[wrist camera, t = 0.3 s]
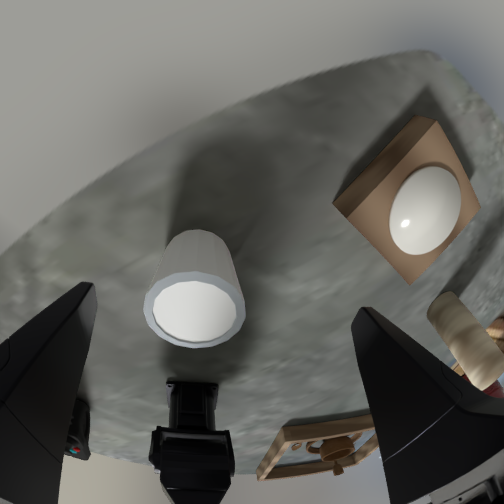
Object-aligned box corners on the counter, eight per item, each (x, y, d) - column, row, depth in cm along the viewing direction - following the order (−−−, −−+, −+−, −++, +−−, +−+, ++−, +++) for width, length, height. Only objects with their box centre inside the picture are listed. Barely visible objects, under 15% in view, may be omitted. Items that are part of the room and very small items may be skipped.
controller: (88, 390, 34) (75, 451, 25) (97, 425, 39) (90, 474, 31) (62, 383, 32) (45, 441, 24) (75, 419, 38) (65, 467, 30)
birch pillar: (444, 319, 35) (491, 386, 23) (420, 321, 34) (469, 396, 23) (460, 291, 32) (515, 357, 21) (437, 291, 31) (495, 365, 20)
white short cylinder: (201, 205, 23) (197, 251, 17) (253, 262, 26) (266, 318, 20) (141, 255, 24) (122, 309, 18) (194, 303, 27) (193, 361, 21)
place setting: (381, 417, 50) (390, 440, 45) (337, 455, 59) (343, 474, 54) (307, 426, 46) (314, 453, 41) (272, 462, 55) (276, 483, 50)
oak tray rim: (353, 455, 61) (356, 464, 58) (255, 470, 56) (257, 481, 53) (405, 405, 48) (410, 417, 45) (282, 426, 43) (285, 441, 40)
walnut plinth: (395, 268, 28) (411, 288, 25) (332, 203, 24) (348, 220, 21) (462, 195, 25) (483, 209, 22) (415, 114, 20) (440, 121, 17)
